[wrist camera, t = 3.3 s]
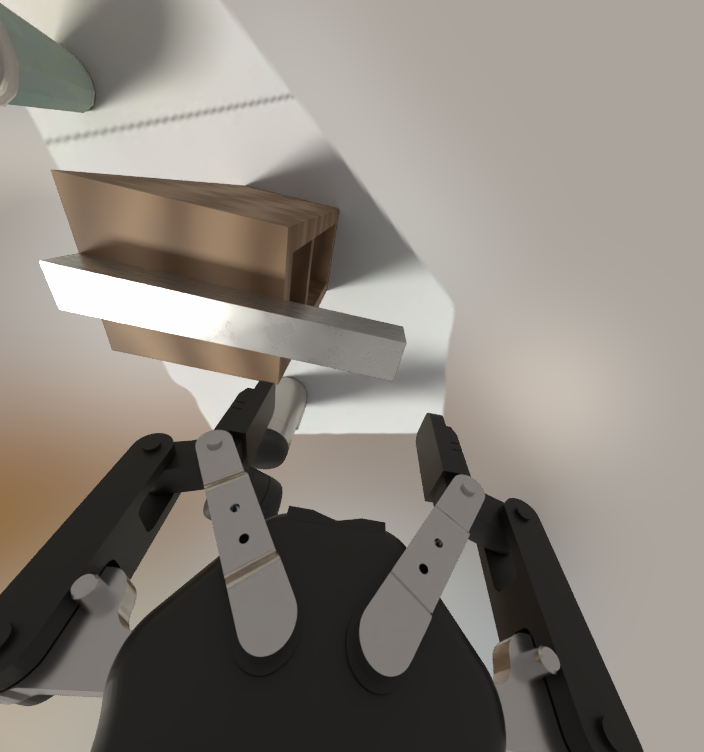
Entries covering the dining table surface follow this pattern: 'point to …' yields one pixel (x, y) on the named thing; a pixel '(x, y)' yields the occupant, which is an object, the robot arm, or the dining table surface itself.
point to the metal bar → (224, 315)
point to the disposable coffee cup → (39, 69)
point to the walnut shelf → (202, 252)
